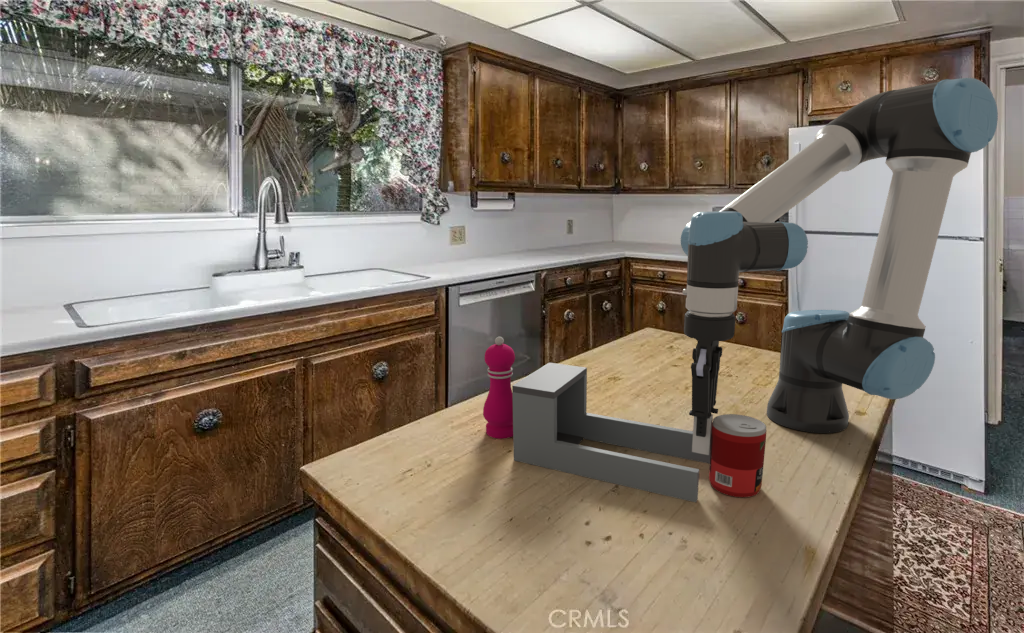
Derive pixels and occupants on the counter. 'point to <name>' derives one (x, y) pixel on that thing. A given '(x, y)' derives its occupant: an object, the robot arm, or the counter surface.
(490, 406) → the pepper mill
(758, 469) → the canned food
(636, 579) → the counter surface
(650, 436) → the trap channel
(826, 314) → the robot arm
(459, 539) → the counter surface
